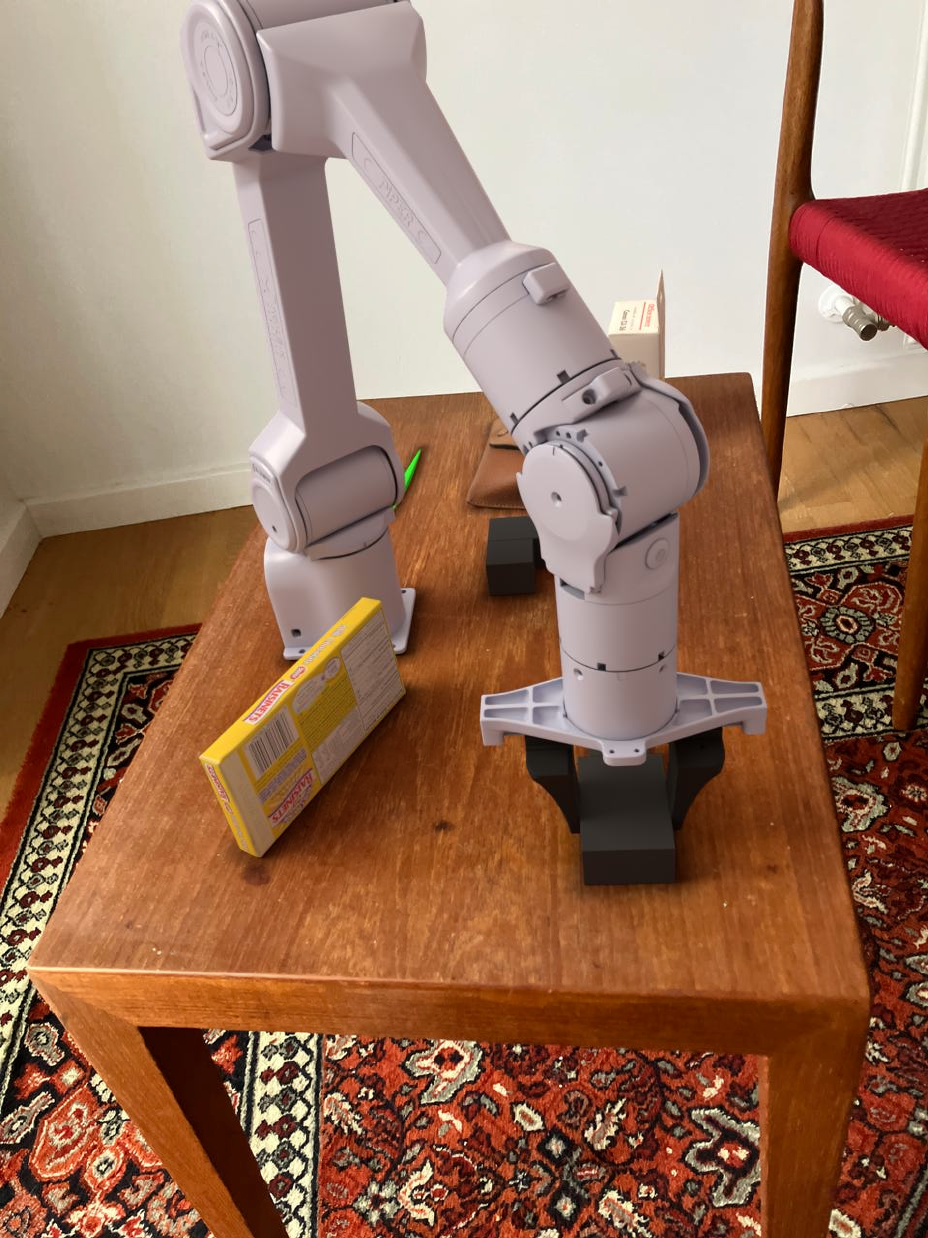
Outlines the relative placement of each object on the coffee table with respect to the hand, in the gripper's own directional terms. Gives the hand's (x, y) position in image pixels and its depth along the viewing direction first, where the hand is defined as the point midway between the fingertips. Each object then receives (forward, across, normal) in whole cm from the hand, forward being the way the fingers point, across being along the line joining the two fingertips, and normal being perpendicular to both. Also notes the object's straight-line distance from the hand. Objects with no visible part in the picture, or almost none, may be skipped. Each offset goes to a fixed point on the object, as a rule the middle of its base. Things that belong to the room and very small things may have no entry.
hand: (623, 818), depth 54 cm
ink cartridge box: (+2, +5, +52) cm, 52 cm away
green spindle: (+2, -18, +44) cm, 48 cm away
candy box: (+2, -19, +6) cm, 20 cm away
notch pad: (+1, -3, +28) cm, 28 cm away
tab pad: (+1, 0, +2) cm, 2 cm away
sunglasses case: (+2, -7, +46) cm, 47 cm away
